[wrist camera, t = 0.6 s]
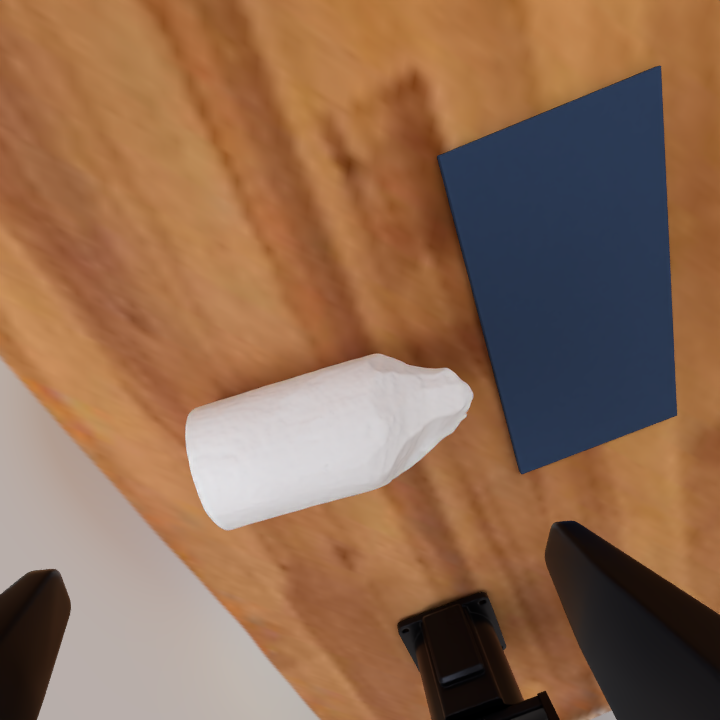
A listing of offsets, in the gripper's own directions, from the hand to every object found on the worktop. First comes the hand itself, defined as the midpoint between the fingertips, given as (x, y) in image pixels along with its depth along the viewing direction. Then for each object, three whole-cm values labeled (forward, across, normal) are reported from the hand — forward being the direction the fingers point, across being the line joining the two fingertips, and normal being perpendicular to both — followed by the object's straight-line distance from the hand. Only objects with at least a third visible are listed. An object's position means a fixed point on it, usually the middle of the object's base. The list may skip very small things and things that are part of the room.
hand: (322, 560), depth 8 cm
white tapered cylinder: (+14, -1, +4) cm, 15 cm away
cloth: (+14, -13, 0) cm, 19 cm away
